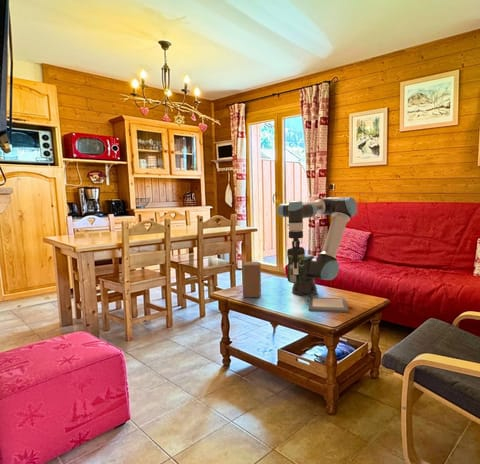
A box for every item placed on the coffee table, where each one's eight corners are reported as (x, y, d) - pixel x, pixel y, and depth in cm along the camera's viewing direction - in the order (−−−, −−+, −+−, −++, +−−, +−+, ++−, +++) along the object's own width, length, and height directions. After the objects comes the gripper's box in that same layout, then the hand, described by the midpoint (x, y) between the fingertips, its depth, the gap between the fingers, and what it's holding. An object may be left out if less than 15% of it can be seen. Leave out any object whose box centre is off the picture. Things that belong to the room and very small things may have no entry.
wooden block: (259, 298, 206) (258, 265, 204) (242, 297, 208) (241, 264, 206) (261, 293, 216) (260, 261, 214) (245, 293, 218) (244, 261, 216)
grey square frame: (309, 299, 202) (309, 296, 202) (345, 300, 198) (345, 297, 198) (308, 310, 183) (308, 307, 183) (348, 312, 179) (348, 309, 178)
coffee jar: (295, 278, 194) (295, 245, 191) (307, 280, 188) (307, 246, 186) (285, 282, 187) (284, 247, 185) (297, 284, 181) (296, 249, 179)
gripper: (290, 228, 196) (291, 267, 198) (286, 233, 174) (287, 277, 177) (304, 228, 194) (304, 267, 197) (301, 233, 173) (302, 277, 175)
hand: (296, 272), depth 187 cm, fingers closed on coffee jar, 9 cm apart
